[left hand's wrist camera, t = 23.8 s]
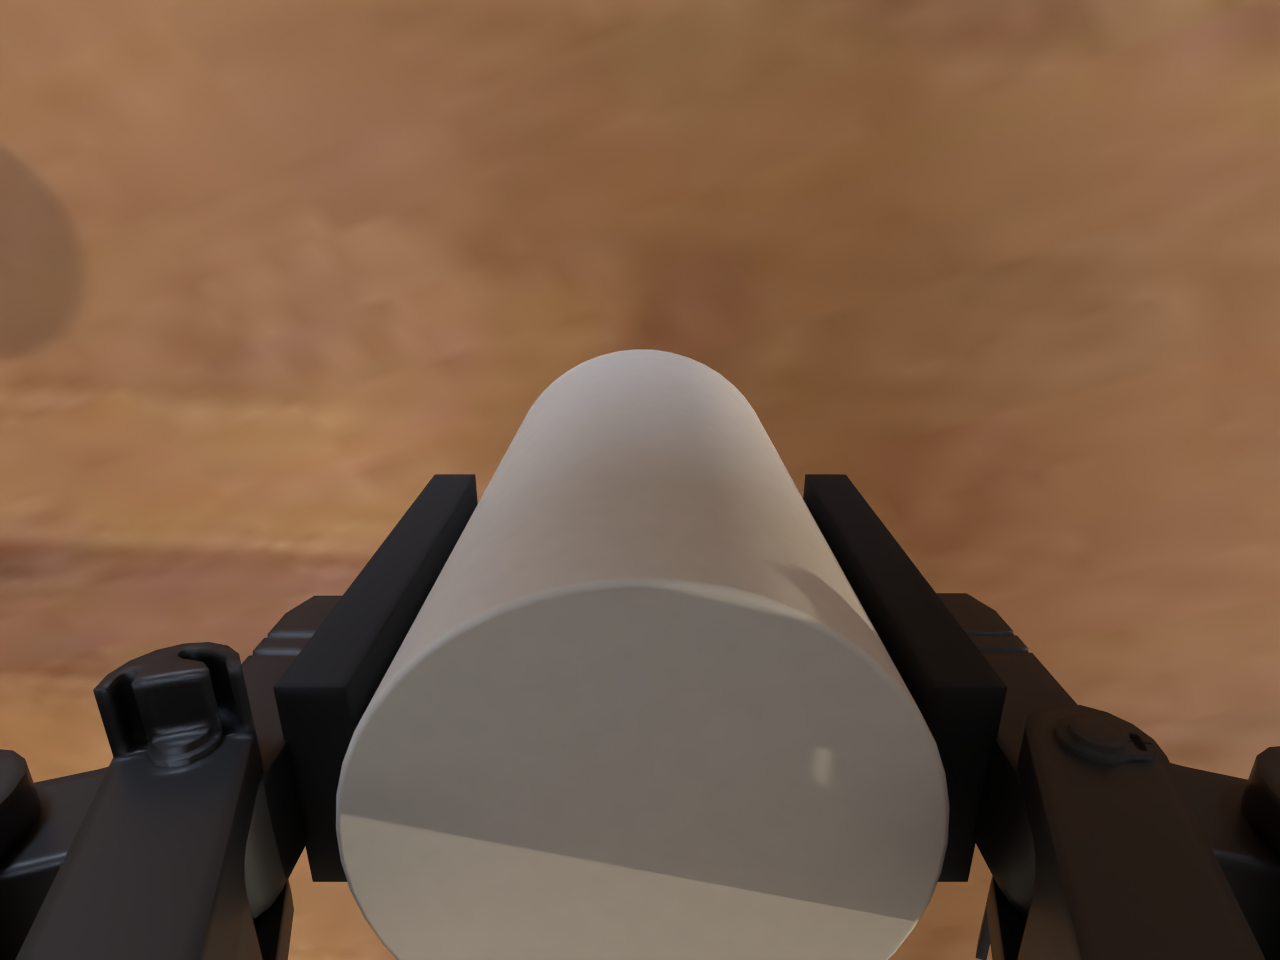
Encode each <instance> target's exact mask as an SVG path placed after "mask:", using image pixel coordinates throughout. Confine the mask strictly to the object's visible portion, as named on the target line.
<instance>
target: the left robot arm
mask: <svg viewBox="0 0 1280 960" xmlns="http://www.w3.org/2000/svg"><path fill="white" fill-rule="evenodd" d="M803 500H804V502H805V503H806V505H807V507H808V509H809V511H810V513H811V514H812V516H813V518H814V520H815V522H816V523H817V525H818V527H819V529H820V531H821V532H822V534H823V536H824V538H825V540H826V542H827V543H828V545H829V547H830V549H831V551H832V552H833V554H834V556H835V558H836V560H837V561H838V563H839V565H840V567H841V569H842V571H843V572H844V574H845V576H846V578H847V580H848V581H849V583H850V585H851V587H852V589H853V590H854V592H855V594H856V596H857V598H858V600H859V601H860V603H861V605H862V607H863V609H864V610H865V612H866V614H867V616H868V618H869V619H870V621H871V623H872V625H873V627H874V629H875V630H876V632H877V634H878V636H879V638H880V639H881V641H882V643H883V645H884V647H885V648H886V650H887V652H888V654H889V656H890V657H891V659H892V661H893V663H894V665H895V667H896V668H897V670H898V672H899V674H900V676H901V677H902V679H903V681H904V683H905V685H906V686H907V688H908V690H909V692H910V694H911V696H912V697H913V699H914V701H915V703H916V705H917V706H918V708H919V710H920V712H921V714H922V716H923V718H924V720H925V722H926V724H927V726H928V728H929V730H930V732H931V734H932V736H933V738H934V740H935V742H936V744H937V748H938V751H939V754H940V758H941V761H942V764H943V767H944V771H945V774H946V782H947V789H948V797H949V805H950V807H949V829H948V844H947V848H946V853H945V858H944V862H943V867H942V871H941V874H940V877H939V879H938V882H968V877H969V872H970V867H971V863H972V858H973V853H974V848H975V843H976V844H977V846H978V848H979V850H980V852H981V854H982V856H983V858H984V860H985V862H986V864H987V865H988V867H989V869H990V871H991V873H992V880H991V884H990V889H989V893H988V898H987V903H986V907H985V912H984V916H983V921H982V925H981V930H980V934H979V939H978V945H977V952H976V958H978V959H982V960H986V959H987V955H988V950H989V946H990V944H991V950H992V958H993V960H1280V746H1278V747H1269V748H1267V749H1266V750H1264V751H1263V752H1262V753H1260V754H1259V755H1257V757H1256V760H1255V763H1254V765H1253V768H1252V771H1251V774H1250V776H1249V779H1248V780H1246V779H1241V778H1237V777H1232V776H1227V775H1222V774H1217V773H1212V772H1208V771H1203V770H1198V769H1193V768H1188V767H1183V766H1180V765H1176V764H1172V763H1170V762H1169V760H1168V758H1167V756H1166V755H1165V753H1164V752H1163V751H1162V750H1161V748H1160V747H1159V746H1158V745H1157V743H1156V742H1155V741H1154V739H1152V738H1151V737H1149V736H1148V735H1147V734H1145V733H1144V732H1143V731H1141V730H1140V729H1138V728H1137V727H1136V726H1134V725H1133V724H1131V723H1129V722H1127V721H1125V720H1122V719H1120V718H1118V717H1116V716H1114V715H1112V714H1110V713H1107V712H1104V711H1100V710H1097V709H1093V708H1089V707H1085V706H1082V705H1077V704H1076V703H1075V702H1074V700H1073V699H1072V698H1071V697H1070V696H1069V695H1068V693H1067V692H1066V691H1065V690H1064V689H1063V688H1062V687H1061V685H1060V684H1059V683H1058V682H1057V681H1056V680H1055V679H1054V677H1053V676H1052V675H1051V674H1050V673H1049V672H1048V671H1047V669H1046V668H1045V667H1044V666H1043V665H1042V664H1041V663H1040V661H1039V660H1038V659H1037V658H1036V657H1035V656H1034V655H1033V653H1029V652H1028V648H1027V647H1026V645H1025V644H1024V643H1023V642H1022V641H1021V640H1020V639H1019V637H1018V636H1014V635H1013V631H1012V629H1011V628H1010V627H1009V626H1008V625H1007V624H1006V623H1005V621H1004V620H1003V619H1002V618H1001V617H1000V616H999V614H998V613H997V612H996V611H995V610H993V609H991V608H990V607H988V606H986V605H985V604H983V603H981V602H980V601H978V600H976V599H975V598H973V597H972V596H970V595H968V594H967V593H935V591H934V590H933V589H932V587H931V586H930V585H929V584H928V582H927V581H926V580H925V578H924V577H923V576H922V574H921V573H920V572H919V570H918V569H917V568H916V566H915V565H914V564H913V562H912V561H911V560H910V559H909V557H908V556H907V555H906V553H905V552H904V551H903V549H902V548H901V547H900V545H899V544H898V543H897V541H896V540H895V539H894V537H893V536H892V535H891V534H890V532H889V531H888V530H887V528H886V527H885V526H884V524H883V523H882V522H881V520H880V519H879V518H878V516H877V515H876V514H875V512H874V511H873V510H872V509H871V507H870V506H869V505H868V503H867V502H866V501H865V499H864V498H863V497H862V495H861V494H860V493H859V491H858V490H857V489H856V487H855V486H854V485H853V484H852V482H851V481H850V480H849V478H848V477H847V476H846V475H805V485H804V497H803ZM477 505H478V503H477V491H476V479H475V475H434V476H433V478H432V479H431V480H430V482H429V483H428V484H427V486H426V487H425V488H424V490H423V491H422V492H421V493H420V495H419V496H418V497H417V499H416V500H415V501H414V503H413V504H412V505H411V507H410V508H409V509H408V511H407V512H406V513H405V515H404V516H403V517H402V518H401V520H400V521H399V522H398V524H397V525H396V526H395V528H394V529H393V530H392V532H391V533H390V534H389V536H388V537H387V538H386V540H385V541H384V542H383V544H382V545H381V546H380V547H379V549H378V550H377V551H376V553H375V554H374V555H373V557H372V558H371V559H370V561H369V562H368V563H367V565H366V566H365V567H364V569H363V570H362V571H361V572H360V574H359V575H358V576H357V578H356V579H355V580H354V582H353V583H352V584H351V586H350V587H349V588H348V590H347V591H346V592H345V594H344V595H343V596H313V597H312V598H310V599H309V600H307V601H305V602H304V603H302V604H300V605H299V606H297V607H295V608H294V609H292V610H290V611H289V612H287V613H286V614H285V615H284V616H283V617H282V618H281V619H280V621H279V622H278V623H277V624H276V625H275V626H274V627H273V629H272V630H271V631H270V632H269V633H268V638H264V639H263V640H262V641H261V642H260V644H259V645H258V646H257V647H256V648H255V649H254V651H253V655H252V656H248V657H247V659H246V660H245V661H244V662H243V663H242V664H241V661H240V657H239V654H238V653H237V652H236V651H234V650H233V649H232V648H230V647H229V646H227V645H221V644H216V643H211V642H203V643H187V644H180V645H176V646H172V647H168V648H163V649H159V650H156V651H153V652H151V653H148V654H146V655H143V656H141V657H138V658H136V659H133V660H131V661H129V662H127V663H126V664H124V665H122V666H121V667H119V668H118V669H116V670H114V671H113V672H111V673H109V674H108V675H107V676H106V677H105V678H104V679H103V680H102V681H101V682H100V683H99V684H98V685H97V686H96V688H95V689H94V690H93V691H94V695H95V698H96V701H97V704H98V708H99V711H100V714H101V717H102V721H103V724H104V727H105V731H106V734H107V737H108V740H109V744H110V747H111V750H112V753H113V759H112V761H111V763H110V766H109V767H106V768H102V769H99V770H94V771H89V772H84V773H79V774H75V775H70V776H65V777H60V778H55V779H50V780H46V781H41V782H36V783H33V780H32V777H31V774H30V772H29V769H28V766H27V763H26V760H25V759H24V758H23V757H21V756H20V755H18V754H17V753H16V752H14V751H11V750H0V960H288V952H289V944H290V936H291V928H292V920H293V912H294V908H293V900H292V893H291V889H290V884H289V880H288V878H289V876H290V874H291V872H292V870H293V868H294V867H295V865H296V863H297V861H298V859H299V857H300V855H301V853H302V851H303V849H304V847H305V845H306V850H307V855H308V860H309V865H310V870H311V875H312V880H313V882H348V881H347V878H346V875H345V872H344V869H343V866H342V863H341V859H340V852H339V846H338V839H337V833H336V794H337V789H338V784H339V778H340V773H341V768H342V763H343V760H344V757H345V755H346V752H347V749H348V747H349V744H350V741H351V739H352V736H353V733H354V731H355V729H356V727H357V725H358V724H359V722H360V720H361V718H362V716H363V714H364V713H365V711H366V709H367V707H368V705H369V703H370V701H371V700H372V698H373V696H374V694H375V692H376V690H377V689H378V687H379V685H380V683H381V681H382V679H383V678H384V676H385V674H386V672H387V670H388V668H389V667H390V665H391V663H392V661H393V659H394V657H395V655H396V654H397V652H398V650H399V648H400V646H401V644H402V643H403V641H404V639H405V637H406V635H407V633H408V632H409V630H410V628H411V626H412V624H413V622H414V621H415V619H416V617H417V615H418V613H419V611H420V610H421V608H422V606H423V604H424V602H425V600H426V598H427V597H428V595H429V593H430V591H431V589H432V587H433V586H434V584H435V582H436V580H437V578H438V576H439V575H440V573H441V571H442V569H443V567H444V565H445V564H446V562H447V560H448V558H449V556H450V554H451V553H452V551H453V549H454V547H455V545H456V543H457V541H458V540H459V538H460V536H461V534H462V532H463V530H464V529H465V527H466V525H467V523H468V521H469V519H470V518H471V516H472V514H473V512H474V510H475V508H476V507H477Z"/></svg>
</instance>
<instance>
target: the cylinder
mask: <svg viewBox="0 0 1280 960" xmlns="http://www.w3.org/2000/svg"><path fill="white" fill-rule="evenodd" d="M949 807H950V805H949V797H948V789H947V782H946V774H945V771H944V767H943V764H942V761H941V758H940V754H939V751H938V748H937V744H936V742H935V740H934V738H933V736H932V734H931V732H930V730H929V728H928V726H927V724H926V722H925V720H924V718H923V716H922V714H921V712H920V710H919V708H918V706H917V705H916V703H915V701H914V699H913V697H912V696H911V694H910V692H909V690H908V688H907V686H906V685H905V683H904V681H903V679H902V677H901V676H900V674H899V672H898V670H897V668H896V667H895V665H894V663H893V661H892V659H891V657H890V656H889V654H888V652H887V650H886V648H885V647H884V645H883V643H882V641H881V639H880V638H879V636H878V634H877V632H876V630H875V629H874V627H873V625H872V623H871V621H870V619H869V618H868V616H867V614H866V612H865V610H864V609H863V607H862V605H861V603H860V601H859V600H858V598H857V596H856V594H855V592H854V590H853V589H852V587H851V585H850V583H849V581H848V580H847V578H846V576H845V574H844V572H843V571H842V569H841V567H840V565H839V563H838V561H837V560H836V558H835V556H834V554H833V552H832V551H831V549H830V547H829V545H828V543H827V542H826V540H825V538H824V536H823V534H822V532H821V531H820V529H819V527H818V525H817V523H816V522H815V520H814V518H813V516H812V514H811V513H810V511H809V509H808V507H807V505H806V503H805V502H804V500H803V498H802V496H801V494H800V493H799V491H798V489H797V487H796V485H795V484H794V482H793V480H792V478H791V476H790V474H789V473H788V471H787V469H786V467H785V465H784V464H783V462H782V460H781V458H780V456H779V455H778V453H777V451H776V449H775V447H774V445H773V444H772V442H771V440H770V438H769V436H768V435H767V433H766V431H765V429H764V427H763V426H762V424H761V422H760V420H759V418H758V416H757V415H756V413H755V411H754V410H753V408H752V407H751V405H750V404H749V403H748V401H747V400H746V398H745V397H744V396H743V395H742V394H741V393H740V392H739V391H738V389H737V388H736V387H735V386H734V385H733V384H732V383H730V382H729V381H728V380H727V379H725V378H724V377H723V376H722V375H721V374H719V373H717V372H716V371H714V370H713V369H711V368H709V367H708V366H706V365H704V364H702V363H700V362H698V361H695V360H693V359H691V358H688V357H685V356H682V355H678V354H675V353H671V352H665V351H658V350H641V349H634V350H625V351H617V352H613V353H609V354H605V355H600V356H598V357H595V358H593V359H590V360H588V361H585V362H583V363H581V364H579V365H577V366H575V367H574V368H572V369H570V370H568V371H567V372H565V373H564V374H563V375H561V376H560V377H559V378H557V379H556V380H555V381H554V382H553V383H551V384H550V385H549V386H548V387H547V388H546V389H545V390H544V391H543V392H542V393H541V395H540V396H539V397H538V399H537V400H536V401H535V402H534V404H533V405H532V406H531V408H530V410H529V411H528V413H527V415H526V417H525V418H524V420H523V422H522V424H521V426H520V427H519V429H518V431H517V433H516V435H515V437H514V438H513V440H512V442H511V444H510V446H509V448H508V450H507V451H506V453H505V455H504V457H503V459H502V461H501V462H500V464H499V466H498V468H497V470H496V472H495V473H494V475H493V477H492V479H491V481H490V483H489V484H488V486H487V488H486V490H485V492H484V494H483V495H482V497H481V499H480V501H479V503H478V505H477V507H476V508H475V510H474V512H473V514H472V516H471V518H470V519H469V521H468V523H467V525H466V527H465V529H464V530H463V532H462V534H461V536H460V538H459V540H458V541H457V543H456V545H455V547H454V549H453V551H452V553H451V554H450V556H449V558H448V560H447V562H446V564H445V565H444V567H443V569H442V571H441V573H440V575H439V576H438V578H437V580H436V582H435V584H434V586H433V587H432V589H431V591H430V593H429V595H428V597H427V598H426V600H425V602H424V604H423V606H422V608H421V610H420V611H419V613H418V615H417V617H416V619H415V621H414V622H413V624H412V626H411V628H410V630H409V632H408V633H407V635H406V637H405V639H404V641H403V643H402V644H401V646H400V648H399V650H398V652H397V654H396V655H395V657H394V659H393V661H392V663H391V665H390V667H389V668H388V670H387V672H386V674H385V676H384V678H383V679H382V681H381V683H380V685H379V687H378V689H377V690H376V692H375V694H374V696H373V698H372V700H371V701H370V703H369V705H368V707H367V709H366V711H365V713H364V714H363V716H362V718H361V720H360V722H359V724H358V725H357V727H356V729H355V731H354V733H353V736H352V739H351V741H350V744H349V747H348V749H347V752H346V755H345V757H344V760H343V763H342V768H341V773H340V778H339V784H338V789H337V794H336V833H337V839H338V846H339V852H340V859H341V863H342V866H343V869H344V872H345V875H346V878H347V881H348V884H349V888H350V890H351V892H352V894H353V896H354V898H355V900H356V902H357V904H358V906H359V908H360V910H361V912H362V914H363V916H364V918H365V919H366V921H367V922H368V924H369V925H370V927H371V928H372V929H373V931H374V932H375V934H376V935H377V936H378V938H379V939H380V941H381V942H382V944H383V945H384V946H385V947H386V948H387V949H388V950H389V951H390V952H391V953H392V954H393V955H394V956H395V958H396V959H397V960H888V959H889V958H890V957H891V956H892V955H893V954H894V953H895V952H896V950H897V949H898V948H899V947H900V945H901V944H902V943H903V942H904V940H905V939H906V938H907V936H908V935H909V934H910V933H911V931H912V930H913V929H914V928H915V926H916V924H917V922H918V921H919V919H920V917H921V915H922V914H923V912H924V910H925V909H926V907H927V905H928V903H929V902H930V900H931V897H932V894H933V892H934V889H935V887H936V884H937V882H938V879H939V877H940V874H941V871H942V867H943V862H944V858H945V853H946V848H947V844H948V829H949Z"/></svg>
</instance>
